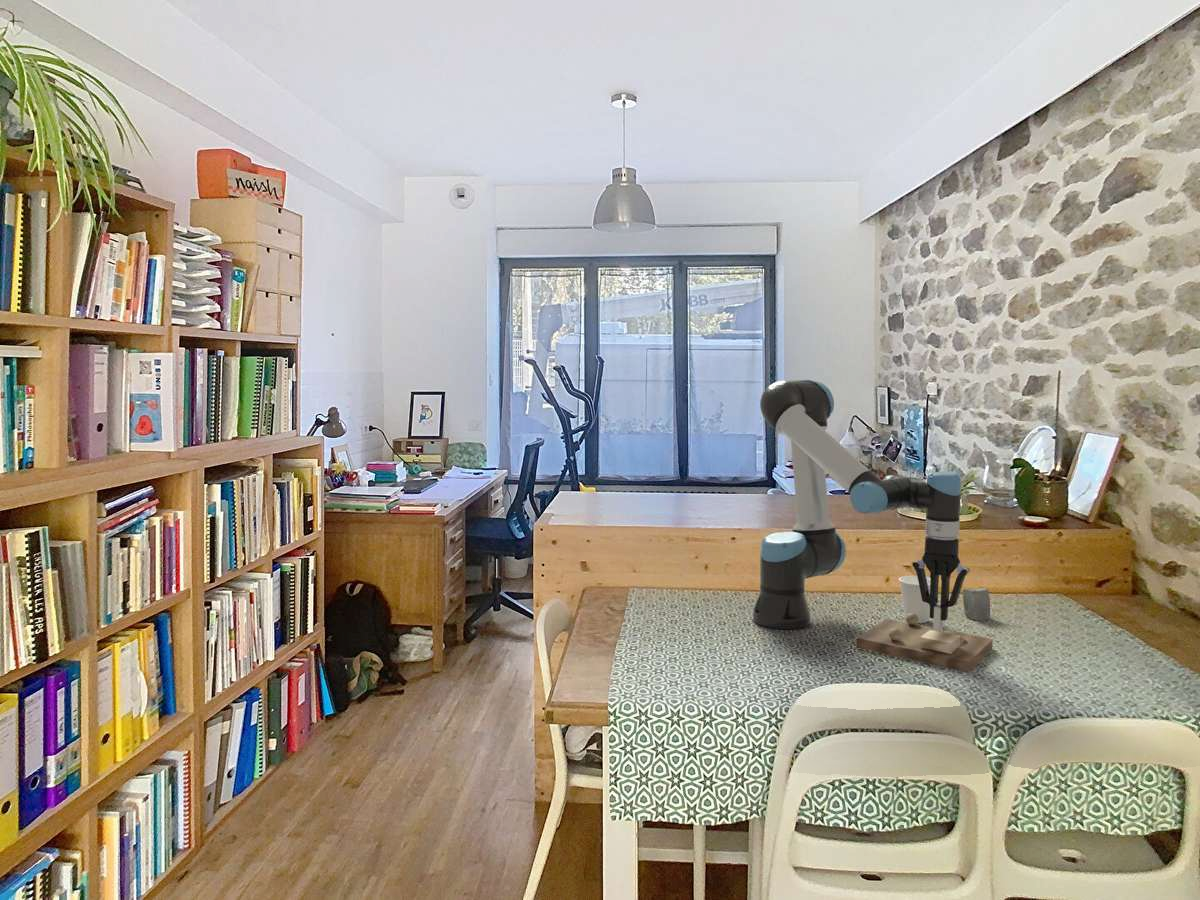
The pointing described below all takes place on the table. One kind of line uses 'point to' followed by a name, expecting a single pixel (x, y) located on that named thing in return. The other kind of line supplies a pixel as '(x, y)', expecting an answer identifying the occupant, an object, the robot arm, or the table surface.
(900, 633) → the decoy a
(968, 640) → the board
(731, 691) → the table surface
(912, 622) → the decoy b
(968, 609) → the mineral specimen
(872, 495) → the robot arm
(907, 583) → the cup
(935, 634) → the cover
